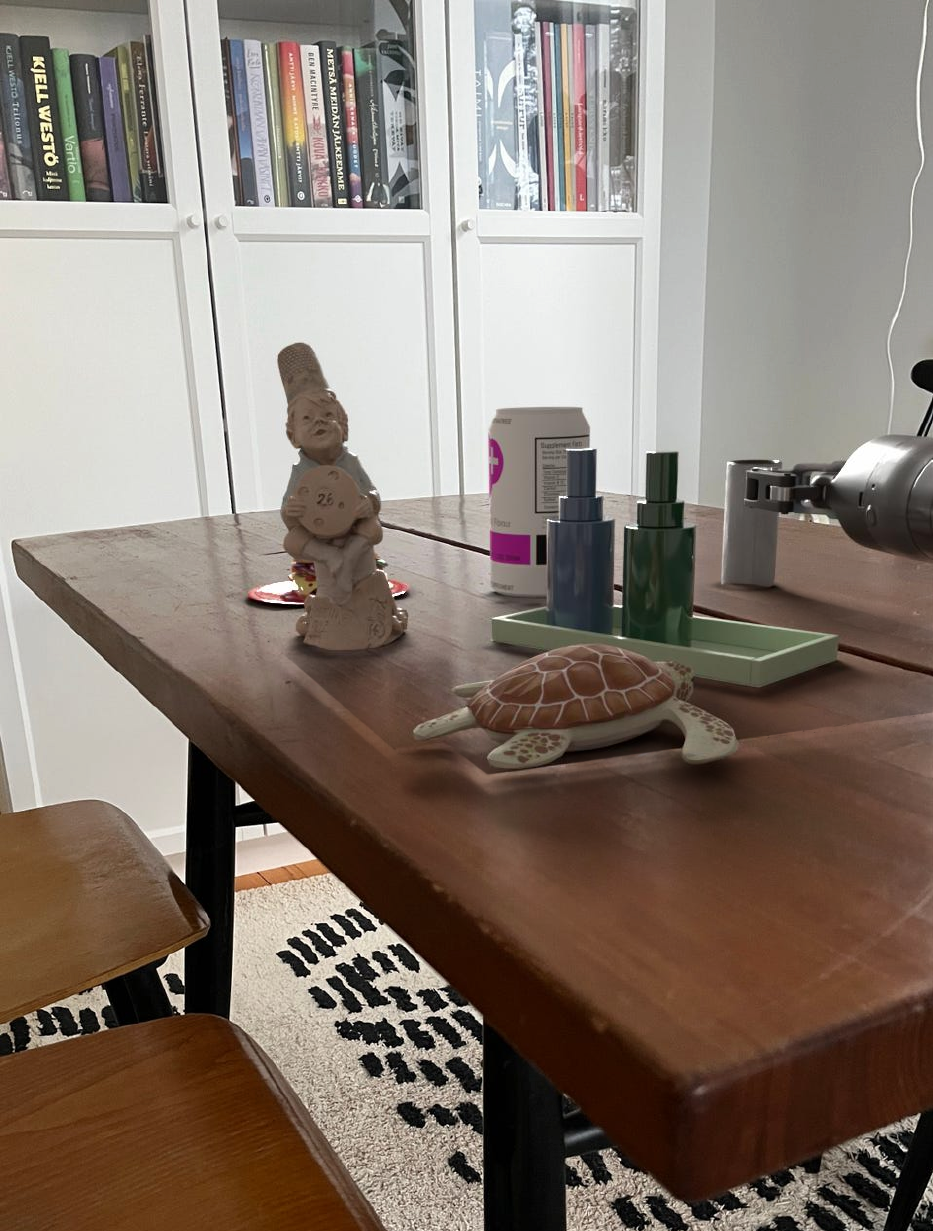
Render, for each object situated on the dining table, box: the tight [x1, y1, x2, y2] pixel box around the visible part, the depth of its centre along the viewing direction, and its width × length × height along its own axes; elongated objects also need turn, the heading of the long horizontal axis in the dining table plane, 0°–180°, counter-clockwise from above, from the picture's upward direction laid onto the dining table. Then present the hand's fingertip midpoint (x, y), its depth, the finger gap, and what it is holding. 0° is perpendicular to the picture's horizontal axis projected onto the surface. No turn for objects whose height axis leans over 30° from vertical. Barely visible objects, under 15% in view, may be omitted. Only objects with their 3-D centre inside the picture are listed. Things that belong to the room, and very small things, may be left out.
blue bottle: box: [546, 447, 616, 635], centre depth 83 cm, size 5×5×12 cm
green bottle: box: [621, 449, 698, 648], centre depth 79 cm, size 5×5×12 cm
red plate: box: [247, 549, 410, 605], centre depth 106 cm, size 14×14×6 cm
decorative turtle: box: [412, 644, 740, 770], centre depth 62 cm, size 18×17×5 cm
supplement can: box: [487, 406, 591, 598], centre depth 101 cm, size 8×8×15 cm
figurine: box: [276, 341, 409, 651], centre depth 83 cm, size 9×8×20 cm
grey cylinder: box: [720, 459, 783, 588], centre depth 105 cm, size 4×4×10 cm
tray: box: [491, 604, 840, 688], centre depth 81 cm, size 21×9×2 cm, turn 46°
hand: (807, 479), depth 93 cm, fingers open, 8 cm apart
